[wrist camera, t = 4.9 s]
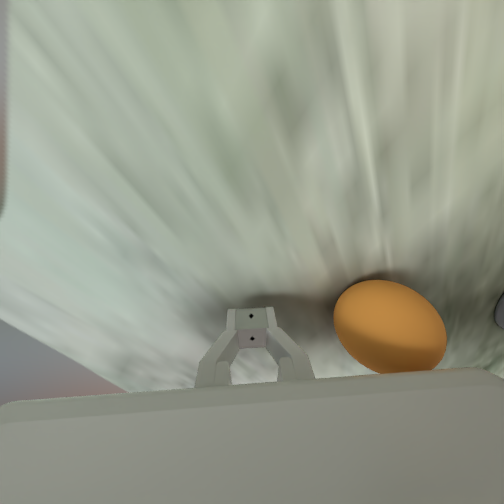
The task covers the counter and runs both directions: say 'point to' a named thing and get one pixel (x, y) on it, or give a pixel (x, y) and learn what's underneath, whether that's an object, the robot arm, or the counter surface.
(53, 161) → the counter surface
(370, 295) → the ball
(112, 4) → the counter surface
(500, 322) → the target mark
